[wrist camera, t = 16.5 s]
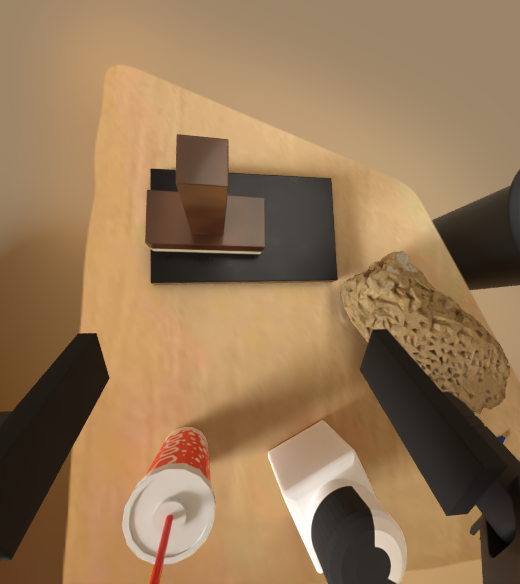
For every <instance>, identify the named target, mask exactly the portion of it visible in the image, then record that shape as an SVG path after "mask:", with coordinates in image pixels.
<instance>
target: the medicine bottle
mask: <svg viewBox="0 0 520 584" xmlns="http://www.w3.org/2000/svg"><path fill="white" fill-rule="evenodd" d="M268 457H269V460H270V463H271V465H272V468H273V471H274V473H275V476H276V479H277V482H278V484H279V487H280V490H281V492H282V495H283V498H284V500H285V502H286V504H287V506H288V509H289V511H290V513H291V515H292V518H293V520H294V522H295V524H296V526H297V529H298V531H299V533H300V535H301V537H302V540H303V542H304V544H305V546H306V548H307V551H308V553H309V555H310V557H311V559H312V562H313V564H314V566H315V568H316V570H317V571H318V573H323V572H324V575H325V577H326V579H327V582H328V584H401V582H402V580H403V577H404V575H405V571H406V566H407V547H406V541H405V537H404V534H403V532H402V530H401V528H400V526H399V525H398V523H397V522H396V521H395V520H394V519H393V517H392V516H391V515H390V514H389V513H388V512H387V511H386V509H385V508H384V507H383V506H382V505H381V504H380V503H379V501H378V500H377V497H376V495H375V493H374V491H373V489H372V486H371V484H370V482H369V480H368V478H367V475H366V473H365V471H364V469H363V467H362V465H361V462H360V460H359V458H358V456H357V454H356V452H355V450H354V449H353V448H351V447H350V446H349V445H348V444H347V443H346V442H345V441H344V440H343V439H342V438H341V437H340V436H339V435H338V434H337V433H336V432H335V431H334V430H333V429H332V428H331V427H330V426H329V425H328V424H327V423H326V422H325V421H323V420H321V421H319V422H318V423H316V424H314V425H312V426H311V427H309V428H307V429H306V430H304V431H302V432H300V433H299V434H297V435H295V436H294V437H292V438H290V439H289V440H287V441H285V442H283V443H282V444H280V445H278V446H277V447H275V448H273V449H271V450H270V451H269V452H268Z"/></svg>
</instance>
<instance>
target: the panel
mask: <svg viewBox="0 0 520 584" xmlns="http://www.w3.org/2000/svg"><path fill="white" fill-rule="evenodd" d="M151 190H156V191H171V192H178V188H177V185H176V170H167V169H151ZM228 195H231V196H247V197H262V198H265V248H264V249H263V251H262V252H261V254H235V253H202V252H168V251H153V250H152V249H151V283H152V284H154V285H166V284H227V283H288V282H333V281H336V280H337V264H336V248H335V231H334V215H333V199H332V182H331V178H315V177H297V176H278V175H260V174H241V173H228Z"/></svg>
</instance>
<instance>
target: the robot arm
mask: <svg viewBox="0 0 520 584" xmlns="http://www.w3.org/2000/svg"><path fill="white" fill-rule="evenodd" d="M360 371H361V373H362V374H363V376H364V378H365V379H366V381H367V383H368V384H369V386H370V388H371V389H372V391H373V393H374V394H375V396H376V398H377V400H378V401H379V403H380V405H381V406H382V408H383V410H384V411H385V413H386V415H387V416H388V418H389V420H390V421H391V423H392V425H393V426H394V428H395V430H396V432H397V433H398V435H399V437H400V438H401V440H402V442H403V443H404V445H405V447H406V448H407V450H408V452H409V453H410V455H411V457H412V458H413V460H414V462H415V464H416V465H417V467H418V469H419V470H420V472H421V474H422V475H423V477H424V479H425V480H426V482H427V484H428V485H429V487H430V489H431V490H432V492H433V494H434V496H435V497H436V499H437V501H438V502H439V504H440V506H441V507H442V509H443V511H444V512H445V514H446V516H451V515H461V514H468V513H469V512H470V510H471V509H472V508H473V507H474V506H475V505H477V507H478V508H479V510H480V511H481V512H482V515H481V517H480V518H479V519H478V520H477V521H476V522H475V523H474V524H473V525H472V526H471V529H470V534H472V535H475V534H476V533H477V531H478V530H479V529H480V540H481V556H482V574H483V584H520V462H519V461H518V460H517V459H516V458H515V457H514V455H513V454H512V453H511V452H510V451H509V450H508V449H507V448H506V447H505V446H504V445H503V444H502V443H501V442H500V440H499V439H498V438H497V437H496V436H495V435H494V434H493V433H492V432H491V431H490V430H489V429H488V428H487V427H485V426H484V423H483V422H482V421H481V420H480V419H479V418H478V417H477V416H475V415H474V413H473V412H472V410H471V409H470V408H469V407H468V406H467V405H466V404H465V403H464V402H463V401H462V400H460V399H459V398H457V397H456V396H455V395H453V394H452V393H450V392H449V391H448V392H442V391H441V390H440V389H439V388H438V386H437V385H436V384H435V383H434V382H433V381H432V380H431V378H430V377H429V376H428V375H427V374H426V373H425V372H424V371H423V369H422V368H421V367H420V366H419V365H418V364H417V363H416V362H415V360H414V359H413V358H412V357H411V356H410V355H409V354H408V352H407V351H406V350H405V349H404V348H403V347H402V346H401V345H400V343H399V342H398V341H397V340H396V339H395V338H394V337H393V336H392V334H391V333H390V332H389V331H388V330H387V329H372V333H371V336H370V339H369V342H368V346H367V349H366V352H365V355H364V358H363V362H362V365H361V368H360ZM108 380H109V375H108V371H107V368H106V364H105V361H104V358H103V354H102V351H101V347H100V344H99V340H98V337H97V334H96V333H84V334H77V336H76V337H75V338H74V339H73V340H72V342H71V343H70V344H69V345H68V346H67V347H66V349H65V350H64V351H63V352H62V353H61V355H60V356H59V357H58V358H57V359H56V361H55V362H54V363H53V364H52V365H51V367H50V368H49V369H48V370H47V371H46V372H45V374H44V375H43V376H42V377H41V378H40V379H39V380H38V382H37V383H36V384H35V385H34V386H33V388H32V389H31V390H30V391H29V393H27V395H26V396H25V397H24V398H23V399H22V401H21V402H20V403H19V404H18V405H17V406H16V408H15V409H14V410H13V411H11V412H0V561H6V560H11V559H12V557H13V556H14V554H15V552H16V550H17V548H18V546H19V545H20V543H21V541H22V539H23V537H24V535H25V533H26V532H27V530H28V528H29V526H30V524H31V522H32V520H33V519H34V517H35V515H36V513H37V511H38V510H39V508H40V506H41V504H42V502H43V500H44V498H45V497H46V495H47V493H48V491H49V489H50V487H51V485H52V484H53V482H54V480H55V478H56V476H57V474H58V473H59V471H60V469H61V467H62V465H63V463H64V461H65V460H66V458H67V456H68V454H69V452H70V450H71V448H72V447H73V445H74V443H75V441H76V439H77V437H78V436H79V434H80V432H81V430H82V428H83V426H84V424H85V423H86V421H87V419H88V417H89V415H90V413H91V411H92V410H93V408H94V406H95V404H96V402H97V400H98V399H99V397H100V395H101V393H102V391H103V389H104V387H105V386H106V384H107V382H108Z"/></svg>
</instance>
